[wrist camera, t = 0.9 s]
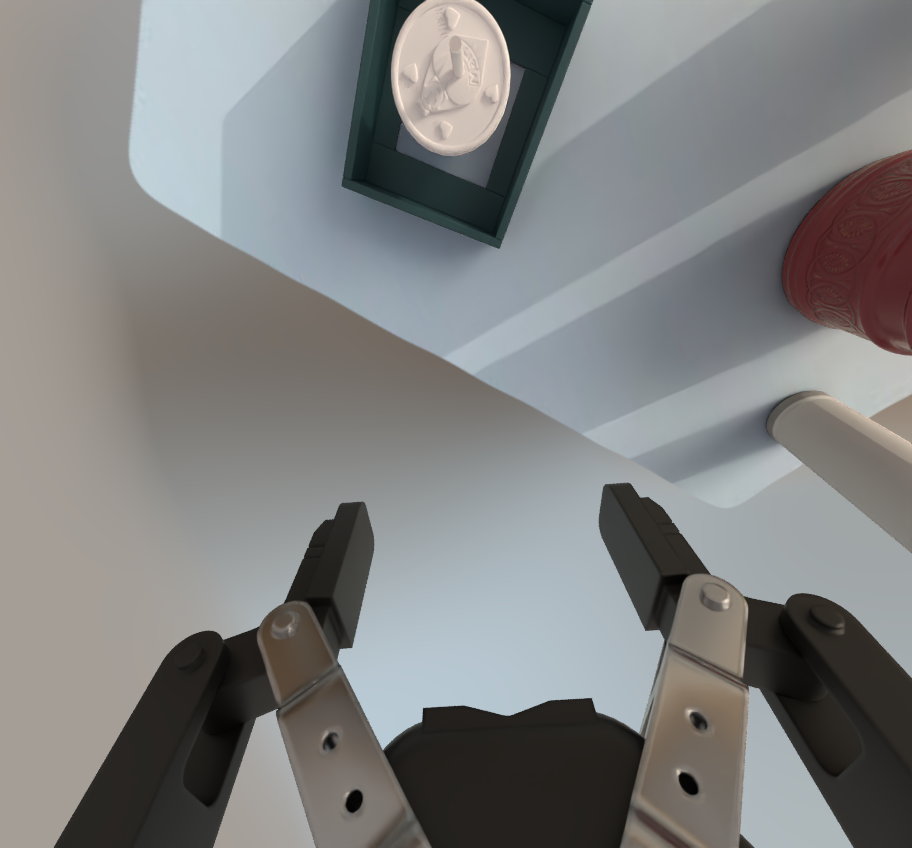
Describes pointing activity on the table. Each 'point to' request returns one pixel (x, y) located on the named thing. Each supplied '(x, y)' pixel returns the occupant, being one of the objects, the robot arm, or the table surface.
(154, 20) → the table surface
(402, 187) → the bin
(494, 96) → the smoothie
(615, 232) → the table surface
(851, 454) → the travel mug
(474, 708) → the robot arm
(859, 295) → the kitchen canister
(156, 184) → the table surface
